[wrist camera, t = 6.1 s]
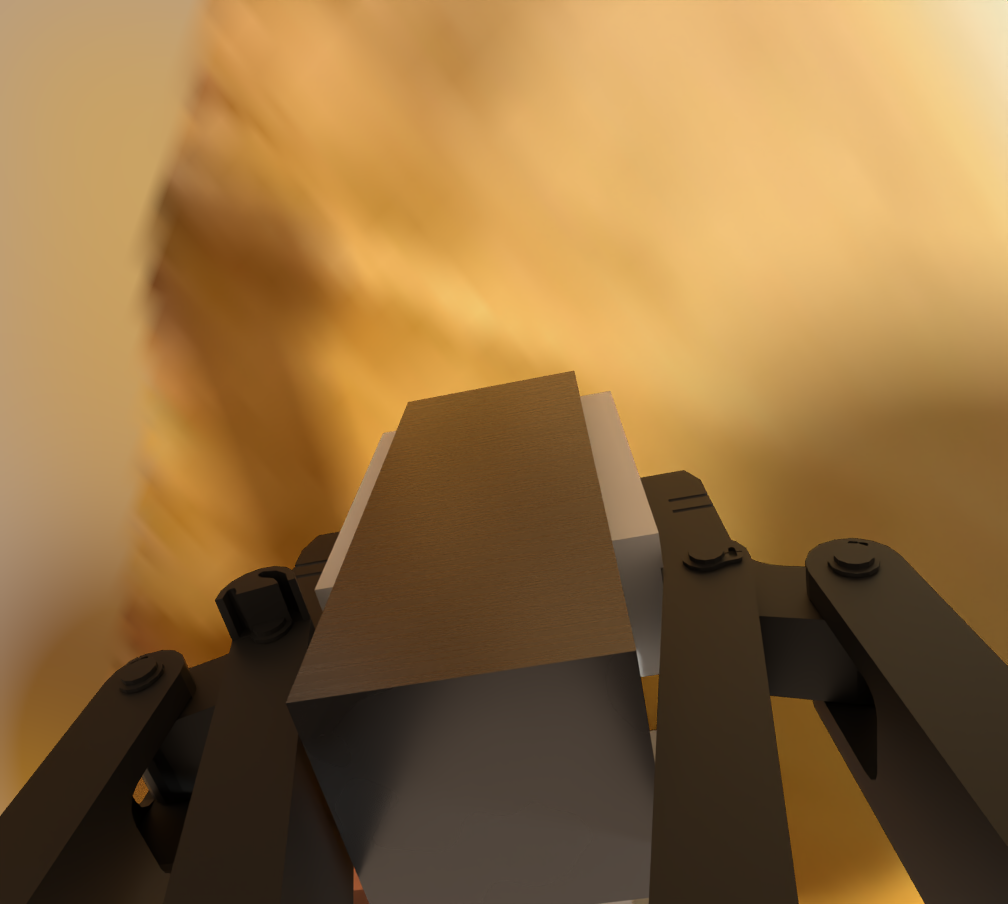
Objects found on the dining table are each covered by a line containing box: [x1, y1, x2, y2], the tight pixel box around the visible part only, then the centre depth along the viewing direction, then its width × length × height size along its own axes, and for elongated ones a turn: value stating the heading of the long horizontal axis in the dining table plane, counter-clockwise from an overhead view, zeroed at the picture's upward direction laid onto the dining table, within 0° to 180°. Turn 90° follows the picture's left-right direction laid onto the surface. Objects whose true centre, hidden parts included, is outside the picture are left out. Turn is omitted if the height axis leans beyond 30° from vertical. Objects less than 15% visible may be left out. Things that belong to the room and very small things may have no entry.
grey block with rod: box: [286, 371, 655, 904], centre depth 16 cm, size 8×17×10 cm, turn 12°
